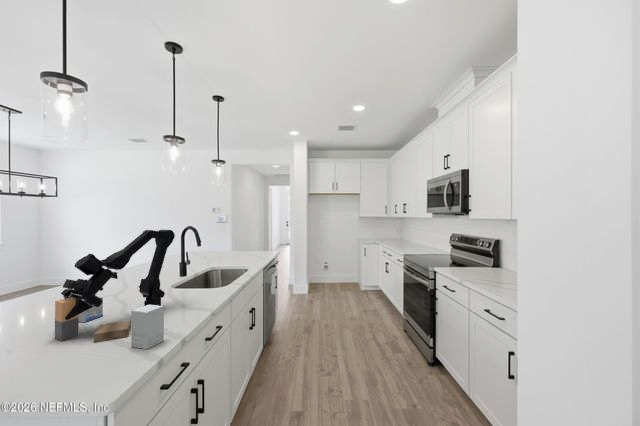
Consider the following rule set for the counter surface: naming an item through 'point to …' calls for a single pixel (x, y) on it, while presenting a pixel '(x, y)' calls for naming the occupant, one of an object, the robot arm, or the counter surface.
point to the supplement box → (147, 326)
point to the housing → (63, 326)
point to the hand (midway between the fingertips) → (62, 318)
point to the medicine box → (91, 313)
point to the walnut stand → (112, 331)
